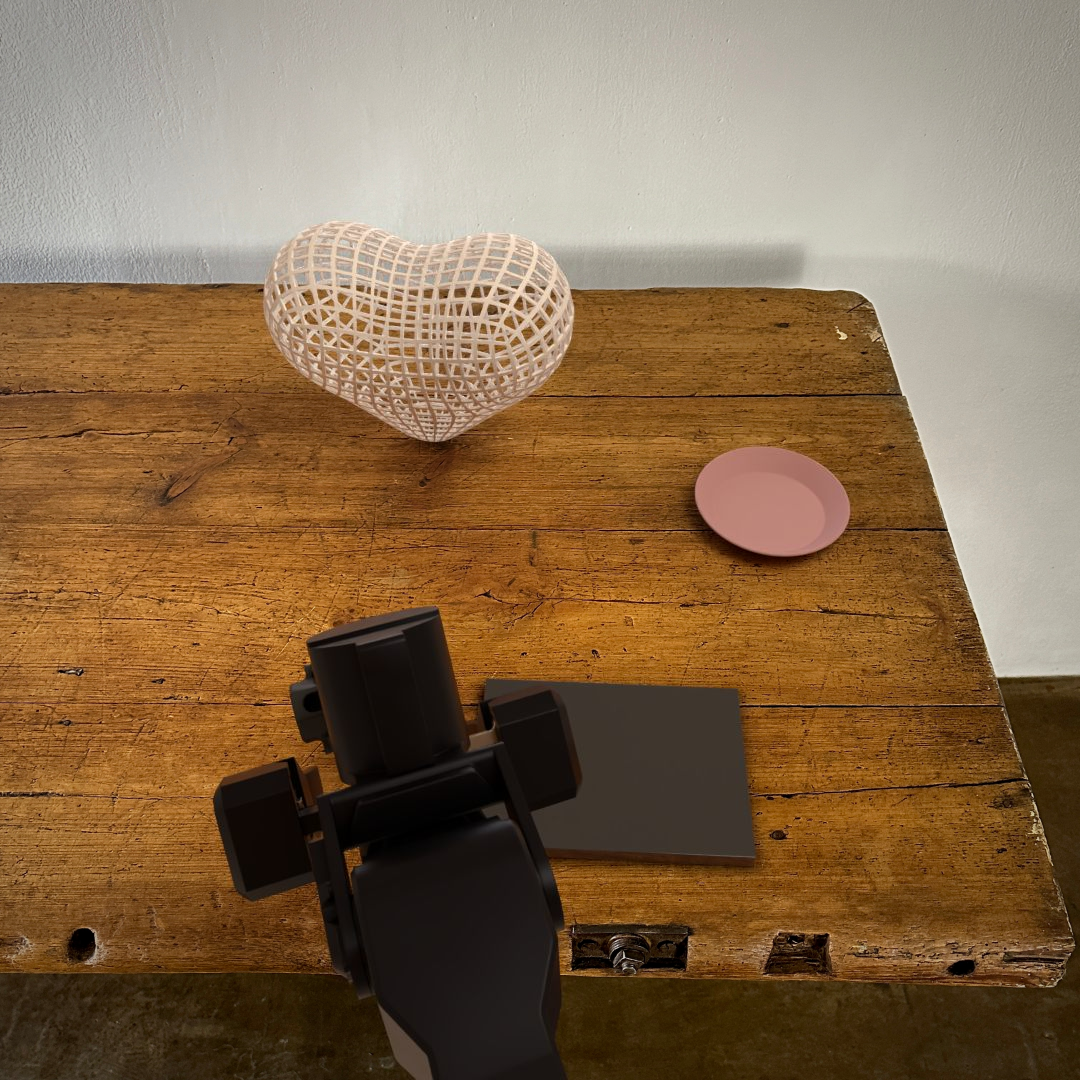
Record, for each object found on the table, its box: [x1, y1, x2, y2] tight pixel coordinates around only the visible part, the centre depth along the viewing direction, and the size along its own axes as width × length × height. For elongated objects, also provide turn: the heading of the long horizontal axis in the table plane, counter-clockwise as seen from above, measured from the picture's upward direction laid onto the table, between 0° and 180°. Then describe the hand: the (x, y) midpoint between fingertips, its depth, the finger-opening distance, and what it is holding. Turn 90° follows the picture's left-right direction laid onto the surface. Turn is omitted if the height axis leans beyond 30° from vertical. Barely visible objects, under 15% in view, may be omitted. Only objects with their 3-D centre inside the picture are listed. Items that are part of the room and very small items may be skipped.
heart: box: [262, 220, 575, 443], centre depth 91 cm, size 28×16×22 cm, turn 82°
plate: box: [694, 446, 851, 558], centre depth 91 cm, size 14×14×2 cm
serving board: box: [482, 677, 757, 867], centre depth 73 cm, size 14×20×2 cm
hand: (390, 751), depth 60 cm, fingers open, 9 cm apart
